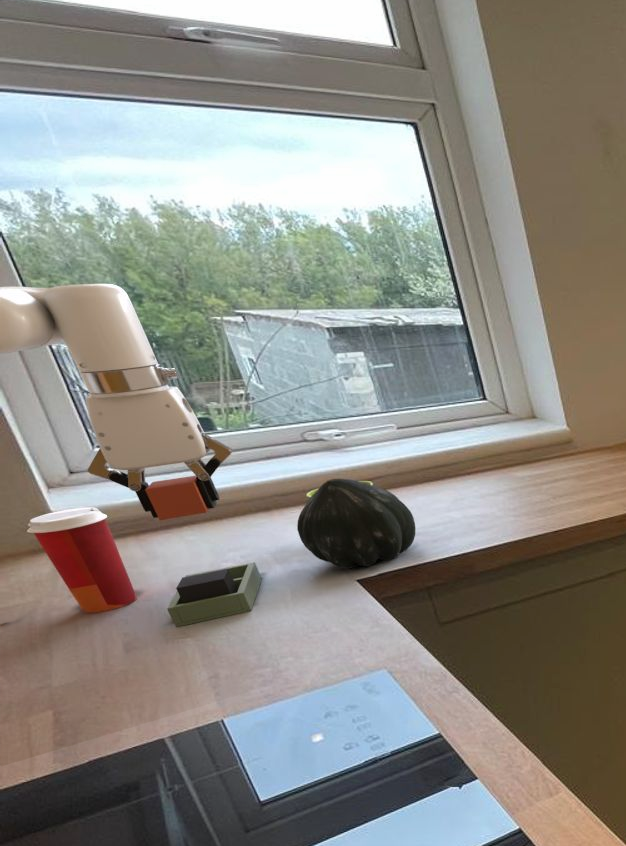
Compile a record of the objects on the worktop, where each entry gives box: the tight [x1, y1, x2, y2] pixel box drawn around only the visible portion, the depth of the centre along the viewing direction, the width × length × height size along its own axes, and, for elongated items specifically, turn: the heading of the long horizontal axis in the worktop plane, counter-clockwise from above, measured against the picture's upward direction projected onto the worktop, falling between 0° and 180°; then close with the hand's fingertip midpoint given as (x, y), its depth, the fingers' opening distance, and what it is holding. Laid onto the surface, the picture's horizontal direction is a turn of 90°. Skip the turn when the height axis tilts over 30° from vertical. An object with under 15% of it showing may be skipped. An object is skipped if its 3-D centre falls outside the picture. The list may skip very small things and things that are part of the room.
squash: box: [296, 478, 416, 569], centre depth 130 cm, size 14×15×15 cm
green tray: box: [166, 561, 263, 628], centre depth 118 cm, size 8×15×3 cm, turn 36°
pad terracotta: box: [145, 475, 210, 521], centre depth 115 cm, size 5×5×4 cm
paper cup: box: [26, 506, 137, 614], centre depth 116 cm, size 8×8×14 cm
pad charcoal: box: [175, 569, 238, 604], centre depth 115 cm, size 5×5×4 cm
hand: (185, 509), depth 115 cm, fingers closed on pad terracotta, 5 cm apart
